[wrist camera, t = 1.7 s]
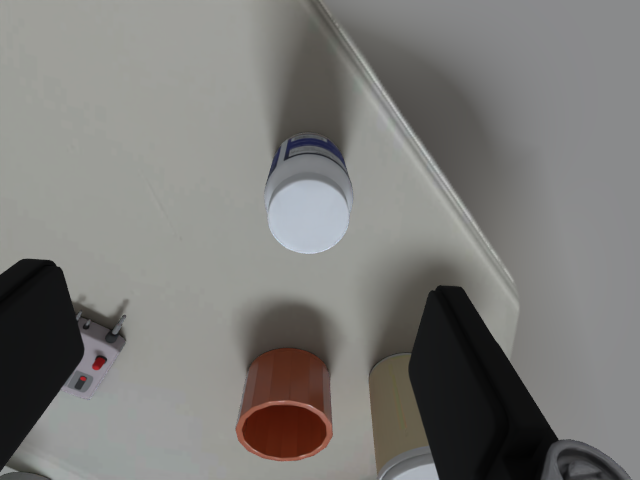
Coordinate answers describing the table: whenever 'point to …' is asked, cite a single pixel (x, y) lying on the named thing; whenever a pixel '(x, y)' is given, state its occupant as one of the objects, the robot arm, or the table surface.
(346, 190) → the pill bottle
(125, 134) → the table surface
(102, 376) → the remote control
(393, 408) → the coffee cup
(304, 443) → the pen cup
